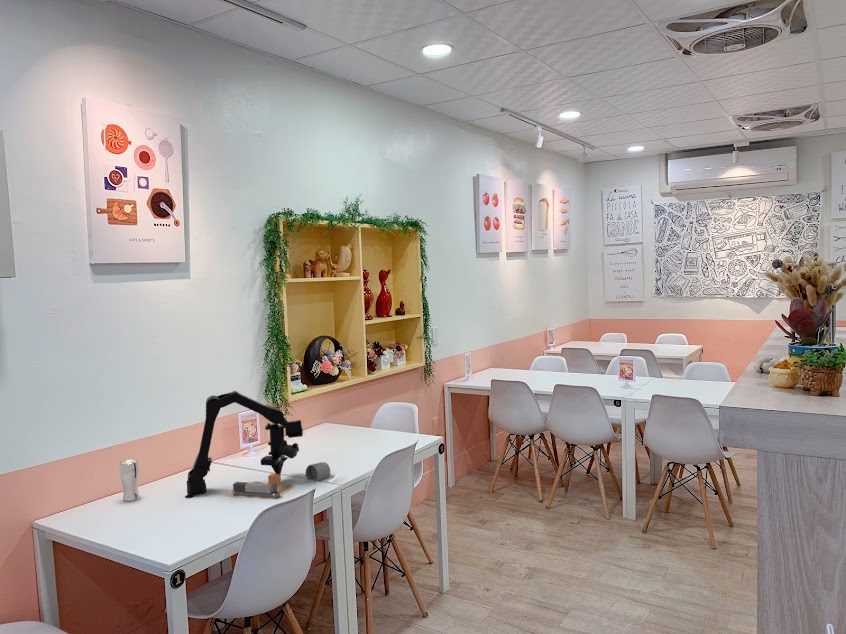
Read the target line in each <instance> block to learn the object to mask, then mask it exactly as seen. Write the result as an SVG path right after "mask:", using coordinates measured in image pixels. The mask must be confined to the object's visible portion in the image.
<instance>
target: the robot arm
mask: <svg viewBox="0 0 846 634" xmlns="http://www.w3.org/2000/svg"><path fill="white" fill-rule="evenodd" d="M235 403H236V404H237V405H239V406H241V407H243V408H245V409H249V410H250V411H253V412H255V413H257V414H259V415H260V416H262V417H263V418H265V419H266V420H268V421H269V422H267V424H266V425H265V426H264V430H266V431H268V430H269V441H268V442H267V445H268V446H269V448H270V451H269V452H268V455H265V456H263V457H262V458H261V459H260V466H270V467H271V468H272V470H273V471H274V474H282V471H283V468H284V467H283V466H284V463H285V462H286V460H288V459H294V458H296V457H297V455H298V452H300V447H299V444H298V443H297V442H294V443H293V444H288V441H287V439H285V437H287V438H289V439H290V438H291V439H292V438H300V437H301V438H302V437H303V435H304V433H303V432H304V431H303V430H304V429H303V426H302V420H301V419H297V420H292V421H291V420H290V421H288V420H287V418H285V416H284V415H285V414H284V412H283V411H282V410H281V408H279V407H275V406H271V405H266V404H263V403H261V402H259V401H257V400H254V399H252V398H250V397H249V396H246V395H244V394H241V393H240V392H239V391H236V390H232V391H231V392H228V393H227V392H226V393H224V394H223V393H222V394H219V395H210V396H208V397H207V398H206V401H205V419H204V425H203V430H202V434H201V435H202V436H201V439H200V440H201V441H200V444H199V450H198V453H197V455H196V457H195V459H194V463H193V466H192V468H191V469H190V471H188V472H187V480H186V495H185V496H184V498H187V499H188V498H189V499H193V498H194V497H195V496H198V495H205V494H206V493H207V483H206V480H205V479H204V478H205V477H206V476H207V475H208V474H209V472H211V465H212V461H213V460H212V457H209V453H210V452H209V451H210V448H211V442H212V438H213V433H214V429H215V428H214V427H215V422H216V420H217V418H218V416H219V413H220V411H221V408H225V407H227V406H229V405H232V404H235ZM271 423H272V424H271Z"/></svg>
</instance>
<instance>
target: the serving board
mask: <svg viewBox="0 0 846 634" xmlns="http://www.w3.org/2000/svg"><path fill="white" fill-rule="evenodd" d="M247 482H248V483H259V484H268V481H254V480H249V481H247ZM296 486H298V483H285V482H281V484H280V485H278V486H277V492H280V497H279V498H276V499H272V498H265V497H251V496H236V495H234V493H233V492H234V491H231V492H230V493H228V494H227V495H226V497H231V498H232V497H233V498H247V499H263V500H273V501H274V500H279V499H280V498H282V497H283V496H284V495H285V494H287V493H288V492H289V491H291V490H292V489H294V487H296Z"/></svg>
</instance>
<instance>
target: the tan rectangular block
mask: <svg viewBox="0 0 846 634" xmlns="http://www.w3.org/2000/svg"><path fill="white" fill-rule="evenodd" d="M281 474H282V473H281ZM281 474H276V473H271V474H269V475H268V476H267V479H268V481H267V482H268V484H277V486H278V485H280V484H281V483H282V479H281V477H282V475H281Z"/></svg>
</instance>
